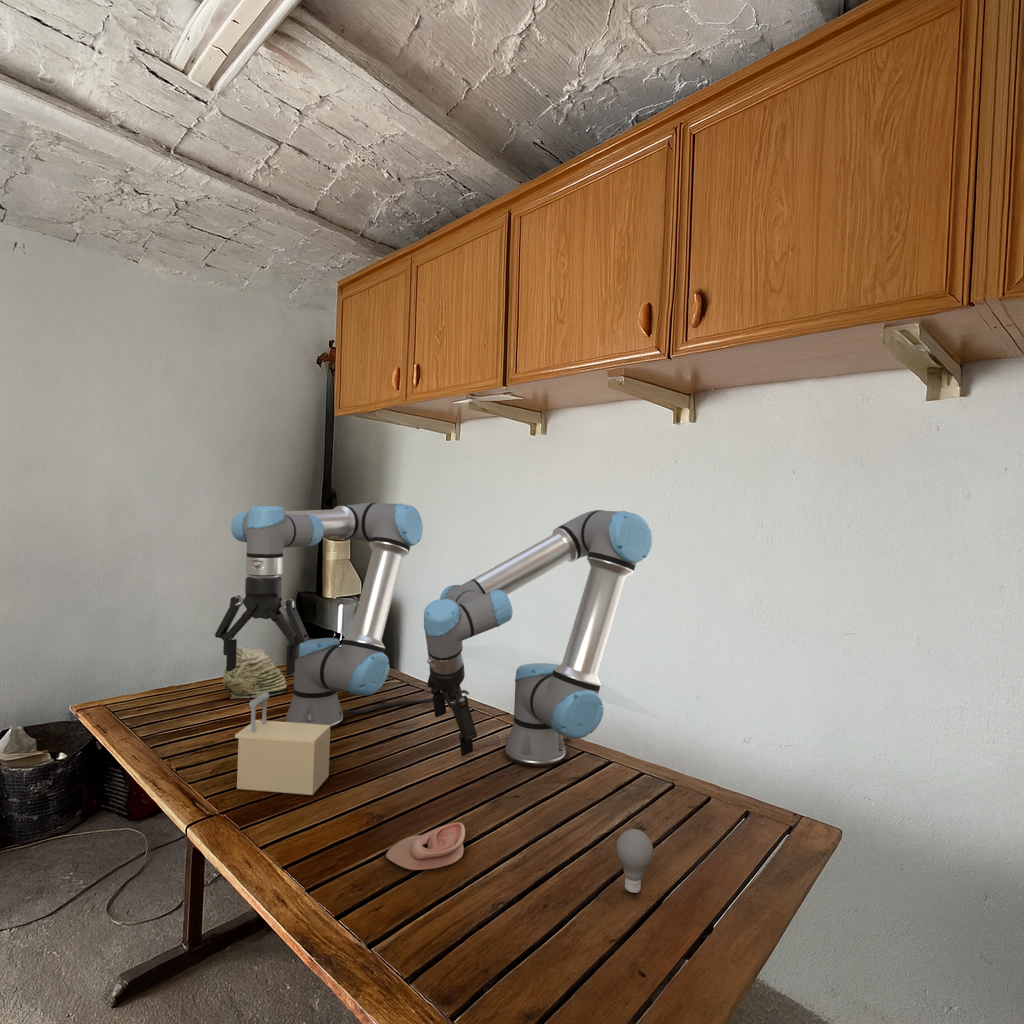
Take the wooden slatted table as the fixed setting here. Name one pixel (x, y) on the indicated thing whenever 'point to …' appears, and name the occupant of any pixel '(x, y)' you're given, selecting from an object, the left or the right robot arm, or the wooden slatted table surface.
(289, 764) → the chest
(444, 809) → the wooden slatted table surface
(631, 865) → the light bulb
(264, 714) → the lid
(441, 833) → the anatomical model
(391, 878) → the wooden slatted table surface
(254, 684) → the fossil
